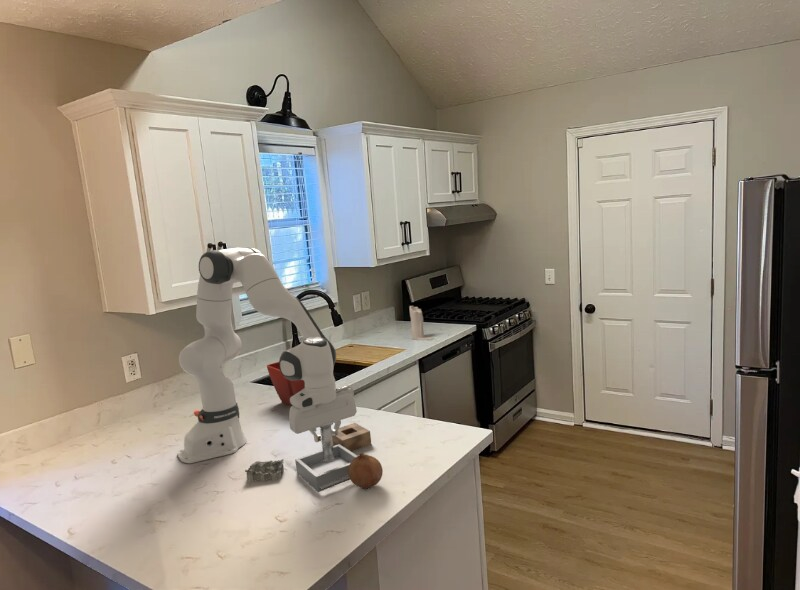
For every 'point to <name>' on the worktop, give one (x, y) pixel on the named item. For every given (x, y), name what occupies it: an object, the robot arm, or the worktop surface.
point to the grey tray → (327, 476)
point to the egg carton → (264, 467)
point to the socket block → (352, 437)
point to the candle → (417, 324)
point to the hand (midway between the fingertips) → (326, 438)
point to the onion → (365, 471)
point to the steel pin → (327, 441)
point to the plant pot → (284, 384)
